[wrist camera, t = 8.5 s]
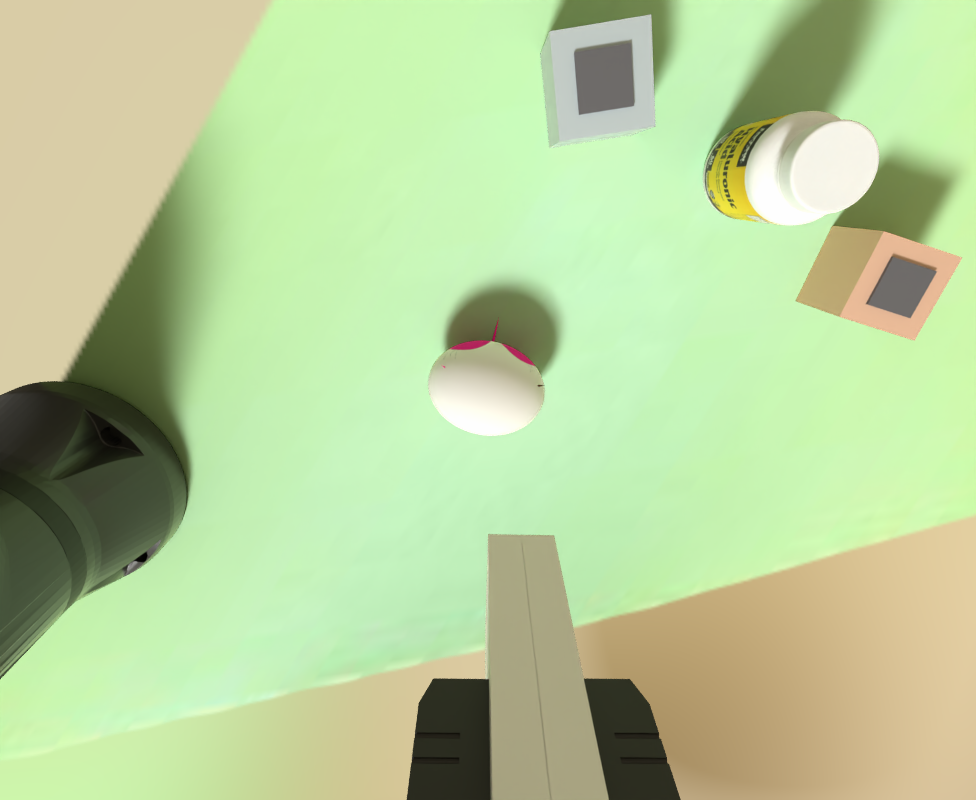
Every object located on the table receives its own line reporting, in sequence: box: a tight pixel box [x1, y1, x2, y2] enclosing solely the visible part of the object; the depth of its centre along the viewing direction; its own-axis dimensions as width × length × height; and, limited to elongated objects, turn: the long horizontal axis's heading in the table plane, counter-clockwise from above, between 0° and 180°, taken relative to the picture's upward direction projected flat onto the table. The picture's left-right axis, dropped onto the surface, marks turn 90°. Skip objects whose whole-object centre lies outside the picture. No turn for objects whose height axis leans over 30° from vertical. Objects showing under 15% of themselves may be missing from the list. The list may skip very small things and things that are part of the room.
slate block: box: [540, 15, 655, 148], centre depth 31 cm, size 5×5×5 cm
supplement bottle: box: [703, 111, 879, 225], centre depth 30 cm, size 5×5×10 cm
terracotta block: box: [796, 226, 962, 340], centre depth 35 cm, size 5×5×5 cm
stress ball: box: [428, 318, 545, 436], centre depth 37 cm, size 8×8×7 cm
